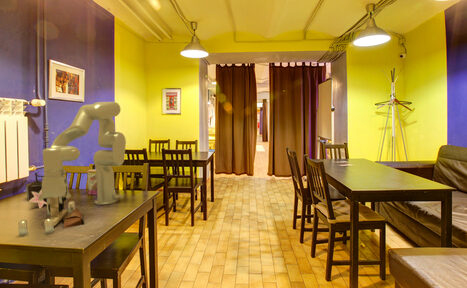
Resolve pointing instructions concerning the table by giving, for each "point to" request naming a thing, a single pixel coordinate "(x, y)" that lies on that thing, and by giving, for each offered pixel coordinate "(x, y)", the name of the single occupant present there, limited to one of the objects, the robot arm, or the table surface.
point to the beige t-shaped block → (56, 210)
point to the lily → (37, 199)
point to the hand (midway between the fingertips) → (56, 210)
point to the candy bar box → (92, 182)
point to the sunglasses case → (73, 219)
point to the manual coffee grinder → (33, 187)
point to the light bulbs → (48, 222)
